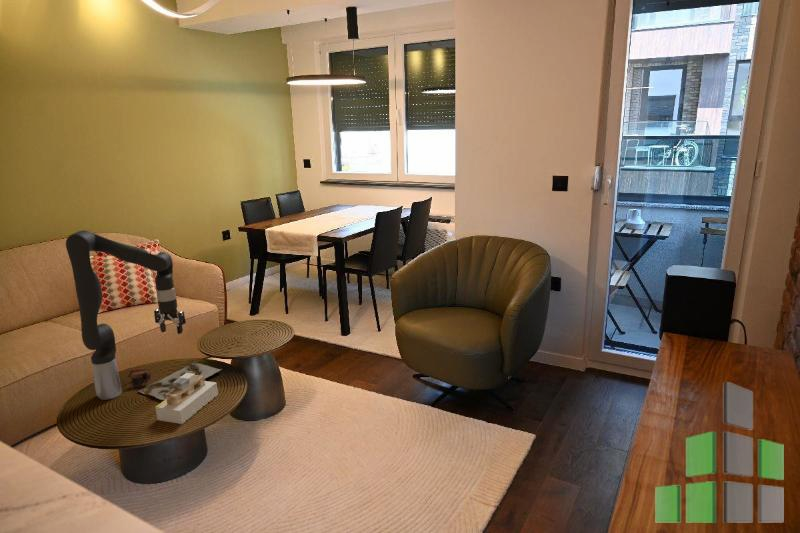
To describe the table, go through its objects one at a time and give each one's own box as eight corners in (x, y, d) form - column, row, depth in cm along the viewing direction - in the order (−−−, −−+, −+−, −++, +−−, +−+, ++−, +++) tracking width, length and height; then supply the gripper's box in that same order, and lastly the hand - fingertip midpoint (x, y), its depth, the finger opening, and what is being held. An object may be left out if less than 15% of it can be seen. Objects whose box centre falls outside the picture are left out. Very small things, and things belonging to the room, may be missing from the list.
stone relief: (137, 393, 229) (164, 403, 219) (136, 388, 228) (163, 398, 218) (197, 365, 255) (224, 373, 245) (196, 360, 255) (223, 368, 245)
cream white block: (180, 384, 213) (179, 377, 213) (187, 379, 217) (186, 372, 217) (189, 385, 212) (188, 378, 211) (196, 380, 216) (195, 373, 215)
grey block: (174, 389, 209) (172, 382, 208) (181, 384, 213) (180, 377, 212) (182, 390, 208) (181, 383, 207) (189, 385, 212) (188, 378, 211)
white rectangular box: (157, 420, 206) (155, 406, 204) (195, 391, 228) (193, 379, 227) (182, 424, 203) (180, 410, 201) (218, 394, 225) (216, 382, 223)
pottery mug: (123, 389, 233) (123, 371, 235) (139, 388, 242) (139, 371, 244) (144, 385, 230) (143, 367, 232) (159, 384, 239) (159, 367, 241)
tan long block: (167, 404, 206) (165, 394, 205) (195, 383, 223) (194, 374, 222) (177, 405, 205) (175, 396, 204) (205, 384, 222) (204, 375, 220)
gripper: (146, 299, 217) (152, 334, 221) (174, 302, 213) (179, 337, 218) (159, 294, 224) (164, 328, 228) (186, 296, 220) (191, 330, 225)
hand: (172, 332), depth 223 cm, fingers open, 8 cm apart
